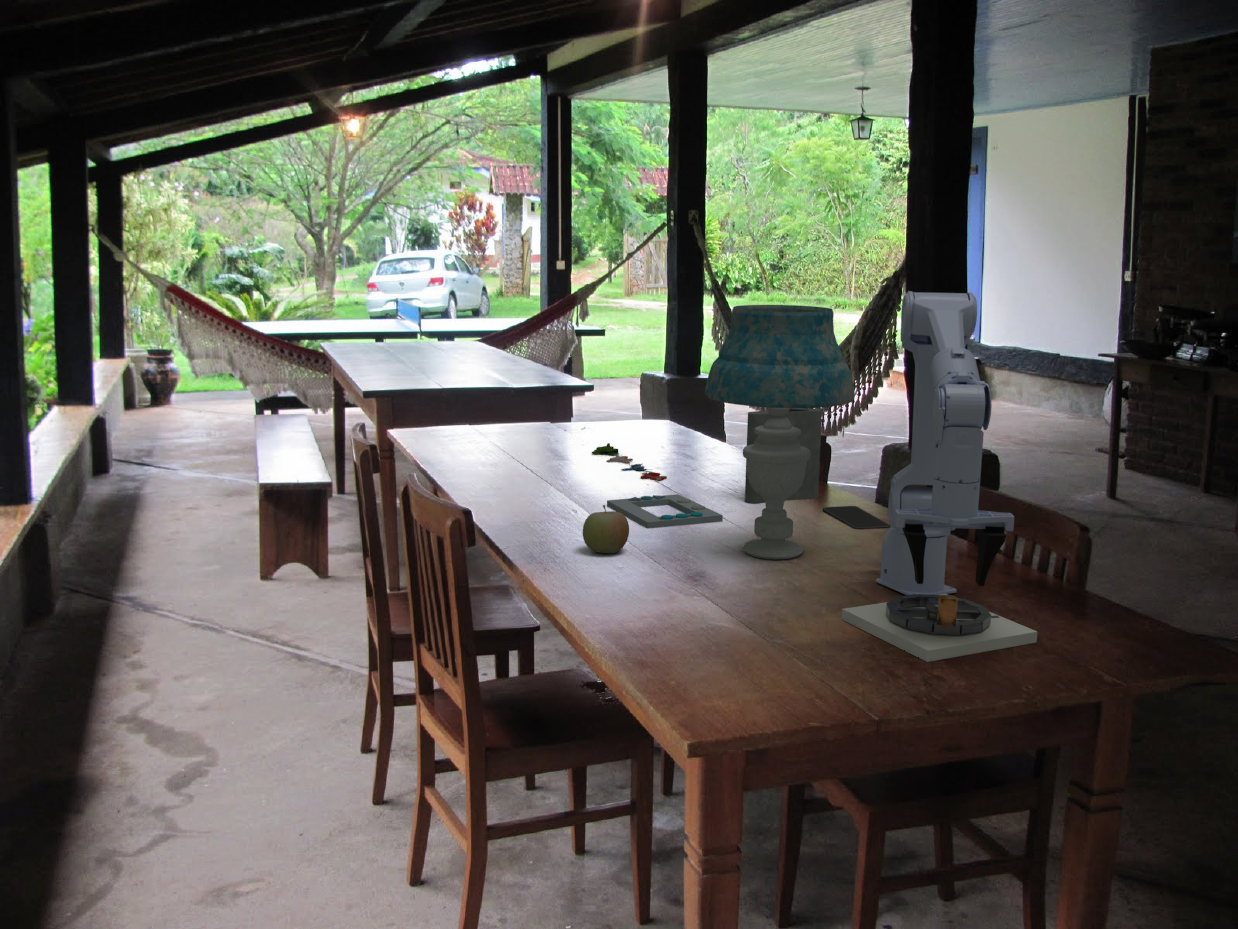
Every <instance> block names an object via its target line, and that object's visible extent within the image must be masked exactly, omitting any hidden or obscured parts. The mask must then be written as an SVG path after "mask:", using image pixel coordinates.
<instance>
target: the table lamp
mask: <svg viewBox="0 0 1238 929" xmlns="http://www.w3.org/2000/svg"><path fill="white" fill-rule="evenodd" d="M834 316H835V315H834V311H833V308H829V307H823V306H812V305H794V304H793V305H791V304H746V305H745V304H744V305H735V306H733V307H732V310H731V319H730V320H731V321H730V328H729V332H728V334H727V336H726V338H725V341H724V343H723V344H722V346H721V348H720V350H719V352H718V357H716V359H715V360H714V361H713V362H712V364H711V367H710V369H709V372H708V377H707V379H706V380H707V381H706V385H705V387H704V395H705V396H706V397H707V398H708V399H710V400H713V401H715V402H720V403H725V404H731V405H737V406H745V407H746V406H747V407H758V408H767V410H768V411H769V414H770V416H769V417H768V419H767V420H766V422H765V423H764V425H763V426H758V427H756V428H755V430H754V432H755V434H757V435H758V437H757V439H756V440H755V441H754V444H752V445H748V446H747V445H745V446H744V447H743V449H742V456H743V457H744V458H745V466H746V465H747V476H748V479H749V482H750V484H751V486H752V488H753V489H754V490H755V492H756V493H758V494H759V495H760V496H761V497H762V498H763V500H765V503H764V504H765V508H763V509H762V510H761V516H758V517H756V518H755V519H754V523H753V524H754V525H753V526H754V527H753V532H754V534H755V536H756V537H758V539H752V540H749V541H746V542H745V543H744V545H743V546H742V550H743V551H744V552H745V554H747V555H748V556H751V557H754V558H759V559H764V560H777V561H778V560H781V561H782V560H790V559H795V558H798V557H799V556H801V555H802V554H803V552H804V549H803V548H802V546H801V545H800V544H799V543H797V542H794V541H791V540H787V539H790V538H791V537H793V533H794V520H793V519H792V518H789V517H787V514H788V513H787V510H786V509H784V505H785V502H786V501H788V500H787V498H789V497H790V496H792V495H793V494H794V493H796V492H797V490H798V489H799V488H800V486H801V485H802V482H803V480H804V476H805V470H806V464H807V461H808V460H809V459H810V457H811V451H810V450H809V449H808V448H805V447H803V446H800V442H799V441H798V439H797V436H799V435H800V434H801V430H800V429H799V428H796V427H792V425H791V423H790V421H789V419H788V417H787V416H786V415H787V414H788V412H789V409H790V408H807V409H819V408H828V407H829V408H831V407H838V406H845V405H847V404H850V403H852V402H853V401H854V400H855V396H856V395H855V387H854V381H853V376H852V373H851V372H852V371H851V370H850V368H849V366H848V364H847V362H845V360H844V355H843V353H842V350H841V349H840V348H841V347H840V346H839V344H838V341H837V338H836V334H835V332H834V331H835V329H834V328H835V326H834Z"/></svg>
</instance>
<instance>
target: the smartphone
mask: <svg viewBox="0 0 1238 929" xmlns="http://www.w3.org/2000/svg"><path fill="white" fill-rule="evenodd" d="M822 513H824V514H827V515H828V516H830V517H832V518H834V519H835V520H837V521H839V522H840V523H842V524H844V525H846V526H848V527H850V528H851V529H853V530H874V529H876V530H877V529H878V530H879V529H890V528H891V525H890V523H887V522H885V521H884V520H882V519H880V518H879V517H876V516H875V515H873V514H871V513H869V512H868V511H866V510H864V509H863V508H861V507H859V506H856V505H843V506H841V505H840V506H825V507H823V508H822Z"/></svg>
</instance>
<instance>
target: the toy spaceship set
mask: <svg viewBox="0 0 1238 929" xmlns="http://www.w3.org/2000/svg"><path fill="white" fill-rule="evenodd" d="M591 455H594V456H606V455H608V456H610V455H614V456H613V457H611V458H609V459H607V460H605V461H606V463H611V464H612V463H628V462H629V463H630V462H632V461H634V459H633V458H629V456H627V455H624V456H623V455H621V456H620V453H619V449H618V448H615V447H614V446H611V444H610V442H607V444H606V445H604V446H597V447H596V448H595V449H594V450H593V451H591ZM620 470H621V471H634V472H636V471H647V468H645V466H644V464H643V463H635V464H631V465H630V466H629V467H626V468H621V469H620ZM650 470H651V471H650ZM652 470H653V469H649V472H643V473H641V475H640V476H639V477H640V479H641V480H654V481H655V480H656V481H664V480H665V479H668V476H667V475H661V473H660V472H655V471H652ZM660 475H661V476H660Z"/></svg>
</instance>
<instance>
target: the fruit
mask: <svg viewBox="0 0 1238 929" xmlns="http://www.w3.org/2000/svg"><path fill="white" fill-rule="evenodd" d="M602 507H603V509H604V511H598V512H597V511H596V512H592V513H591V514H589V515H588V516H586V518H585V521H584V523H583V527H582V538H583V541H584V544H585V545H586V547H587V548H588V549H589V550H591V551H592V552H595V553H601V554H614V553H615V554H616V553H617V552H620V551H621V550H622V549H623V548H624V547H625V545H626V543H627V542H628V539H629V537H630V536H629V535H630V525H629V521H628V518H627V517H625V516H624V515H623V514H622V513H619V512H616V511H615V510H613V511H609V510H608V511H607V510H606V504H603V505H602Z"/></svg>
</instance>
